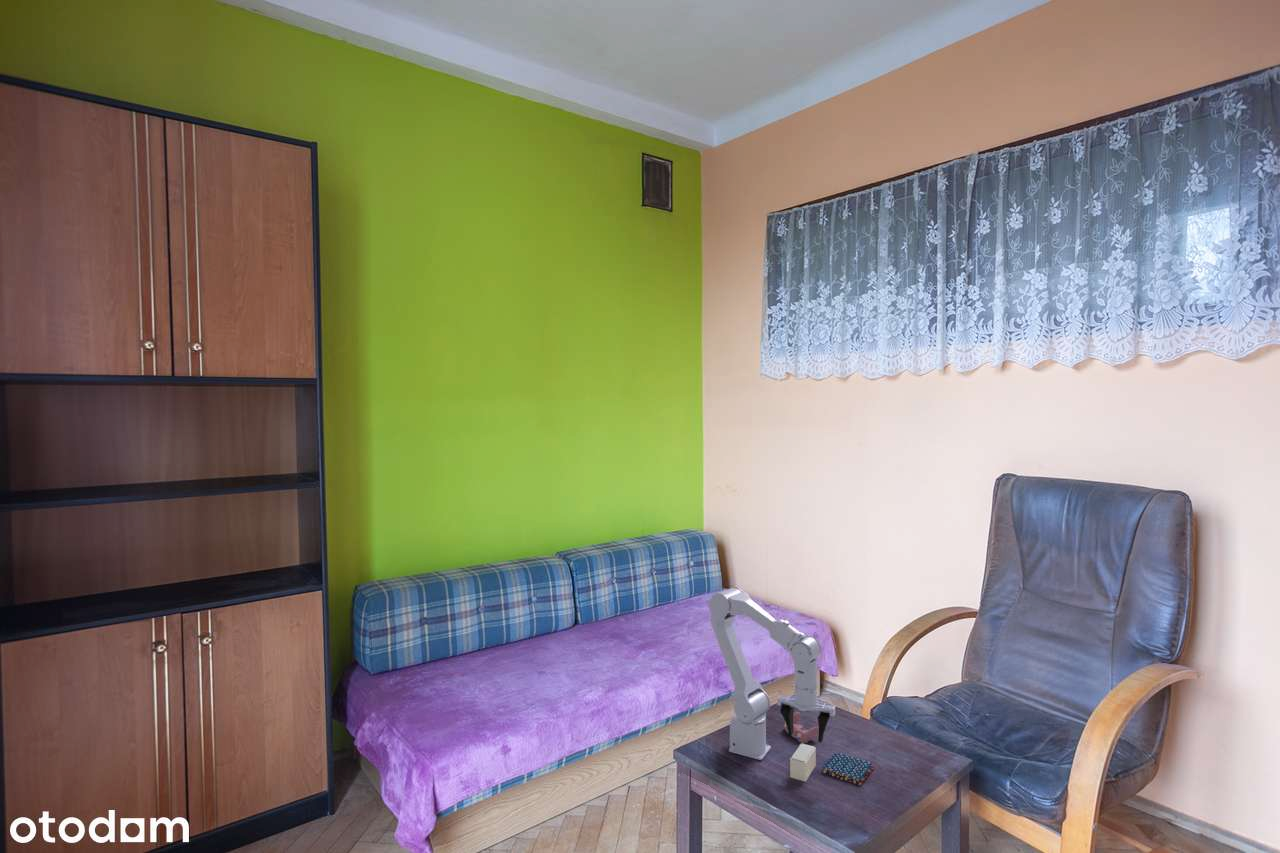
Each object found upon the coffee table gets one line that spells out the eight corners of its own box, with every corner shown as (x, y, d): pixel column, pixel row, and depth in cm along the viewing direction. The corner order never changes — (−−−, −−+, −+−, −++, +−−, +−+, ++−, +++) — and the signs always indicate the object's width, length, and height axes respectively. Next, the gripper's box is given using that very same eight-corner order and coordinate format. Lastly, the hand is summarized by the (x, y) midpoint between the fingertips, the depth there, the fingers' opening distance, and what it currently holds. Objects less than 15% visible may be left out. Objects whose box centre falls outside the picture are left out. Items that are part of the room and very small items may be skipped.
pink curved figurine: (798, 724, 197) (778, 729, 194) (798, 710, 197) (779, 714, 194) (820, 742, 188) (800, 748, 186) (821, 727, 188) (801, 732, 185)
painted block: (790, 777, 170) (790, 757, 169) (800, 761, 177) (800, 742, 177) (805, 782, 168) (805, 762, 167) (815, 765, 175) (815, 746, 175)
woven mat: (861, 788, 165) (861, 780, 165) (820, 774, 172) (820, 766, 171) (875, 770, 173) (875, 762, 173) (835, 757, 180) (835, 750, 180)
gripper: (773, 685, 172) (773, 737, 172) (831, 696, 165) (831, 750, 165) (781, 675, 178) (781, 726, 178) (836, 686, 171) (836, 738, 171)
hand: (805, 737), depth 172 cm, fingers open, 7 cm apart
